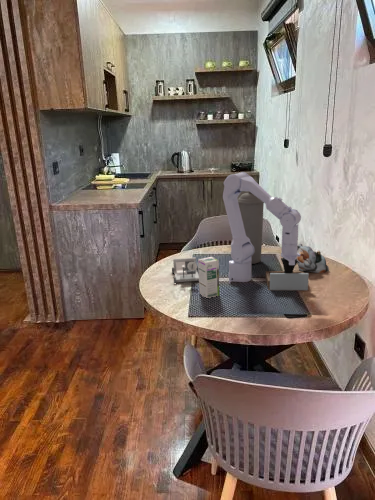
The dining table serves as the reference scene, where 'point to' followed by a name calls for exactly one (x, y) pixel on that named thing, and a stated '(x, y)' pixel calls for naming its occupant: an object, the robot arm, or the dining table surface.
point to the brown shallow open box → (279, 272)
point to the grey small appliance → (185, 269)
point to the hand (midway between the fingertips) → (288, 277)
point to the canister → (252, 222)
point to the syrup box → (209, 277)
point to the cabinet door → (289, 281)
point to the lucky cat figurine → (311, 260)
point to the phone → (295, 315)
